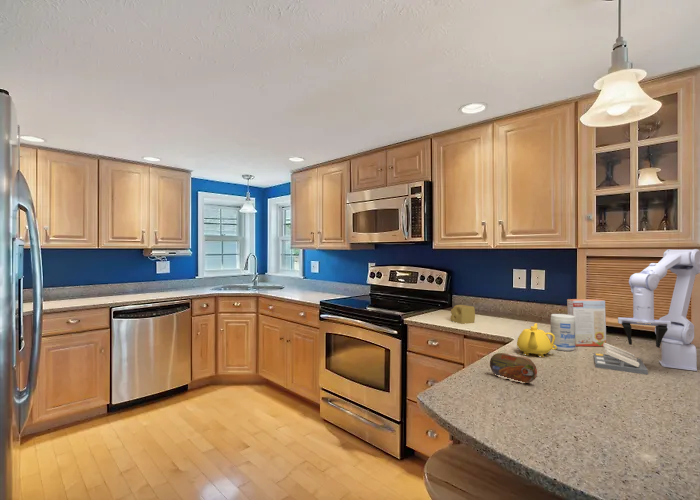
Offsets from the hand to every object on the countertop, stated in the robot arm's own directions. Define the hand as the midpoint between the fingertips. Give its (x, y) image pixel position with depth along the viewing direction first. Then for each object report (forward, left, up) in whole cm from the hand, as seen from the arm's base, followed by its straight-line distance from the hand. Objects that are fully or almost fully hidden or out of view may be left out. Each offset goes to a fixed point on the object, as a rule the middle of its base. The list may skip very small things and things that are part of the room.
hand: (643, 345), depth 128 cm
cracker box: (+16, -34, -10) cm, 39 cm away
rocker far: (+6, -11, -5) cm, 14 cm away
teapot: (+35, -6, -10) cm, 36 cm away
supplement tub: (+25, -21, -10) cm, 34 cm away
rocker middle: (+6, -5, -5) cm, 10 cm away
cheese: (+79, -61, -10) cm, 101 cm away
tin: (+38, +33, -10) cm, 51 cm away
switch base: (+7, -5, -9) cm, 13 cm away
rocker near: (+6, +1, -5) cm, 8 cm away
